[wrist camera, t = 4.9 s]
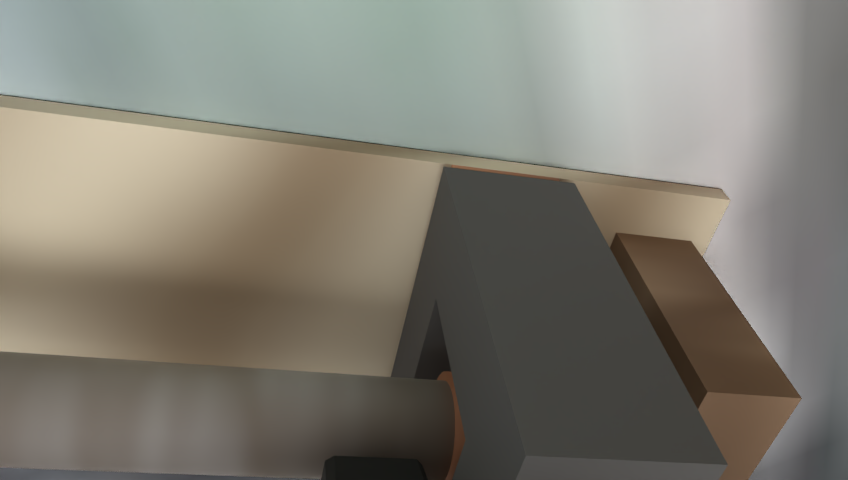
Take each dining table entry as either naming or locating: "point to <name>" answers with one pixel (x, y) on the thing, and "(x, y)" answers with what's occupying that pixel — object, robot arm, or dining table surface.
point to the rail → (289, 298)
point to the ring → (545, 342)
